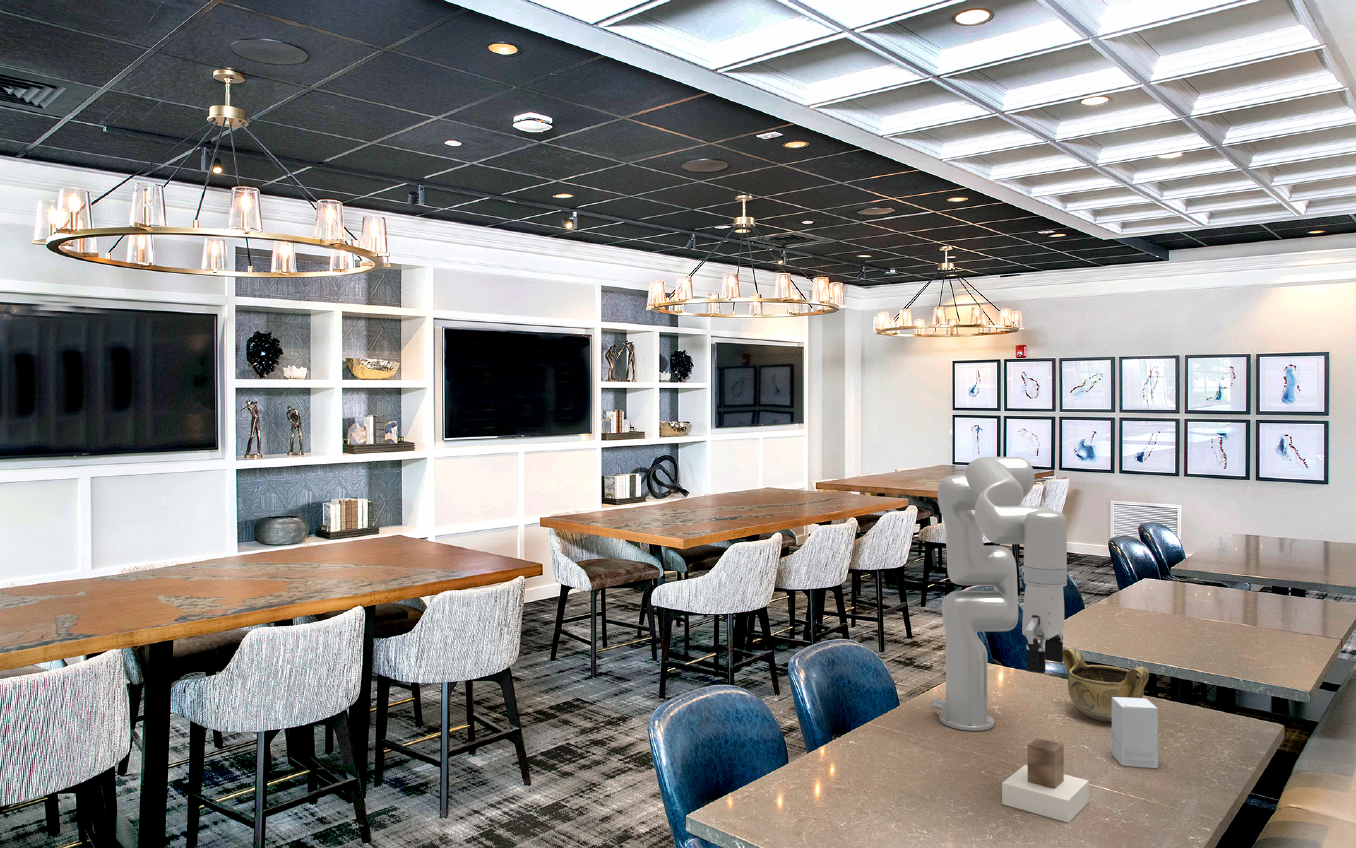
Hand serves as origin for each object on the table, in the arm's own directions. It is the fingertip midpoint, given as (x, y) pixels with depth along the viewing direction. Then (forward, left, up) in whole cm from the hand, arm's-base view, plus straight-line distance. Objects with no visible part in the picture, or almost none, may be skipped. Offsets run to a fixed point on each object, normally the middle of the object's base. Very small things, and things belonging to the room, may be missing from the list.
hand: (1045, 666), depth 167 cm
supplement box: (+7, +34, -26) cm, 43 cm away
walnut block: (0, 0, -22) cm, 22 cm away
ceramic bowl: (-6, +60, -26) cm, 66 cm away
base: (0, 0, -26) cm, 26 cm away
